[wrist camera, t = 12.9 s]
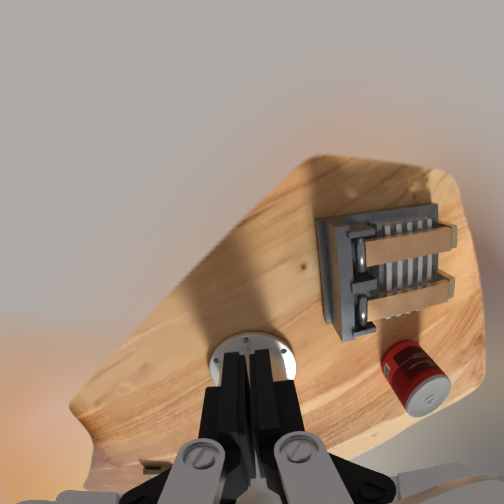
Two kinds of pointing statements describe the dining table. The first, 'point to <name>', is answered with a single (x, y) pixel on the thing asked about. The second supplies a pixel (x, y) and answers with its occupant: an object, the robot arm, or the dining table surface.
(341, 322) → the heatsink block
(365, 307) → the strap
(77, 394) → the dining table surface
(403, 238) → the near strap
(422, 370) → the canned food
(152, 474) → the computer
